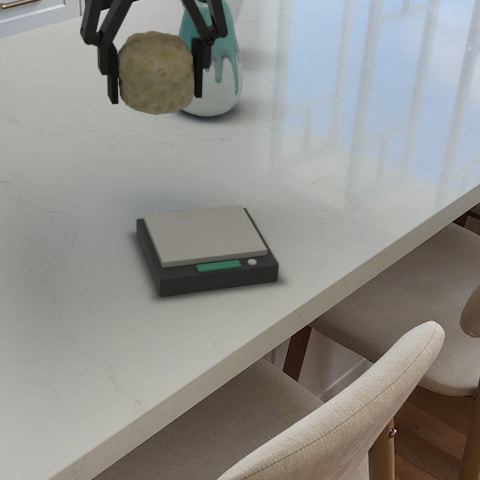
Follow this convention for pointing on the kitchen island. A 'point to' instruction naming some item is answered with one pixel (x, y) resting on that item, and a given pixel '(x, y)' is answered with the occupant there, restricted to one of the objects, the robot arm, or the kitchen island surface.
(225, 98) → the vase
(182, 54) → the beige textured cylinder
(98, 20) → the robot arm
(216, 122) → the kitchen island surface
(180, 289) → the scale
